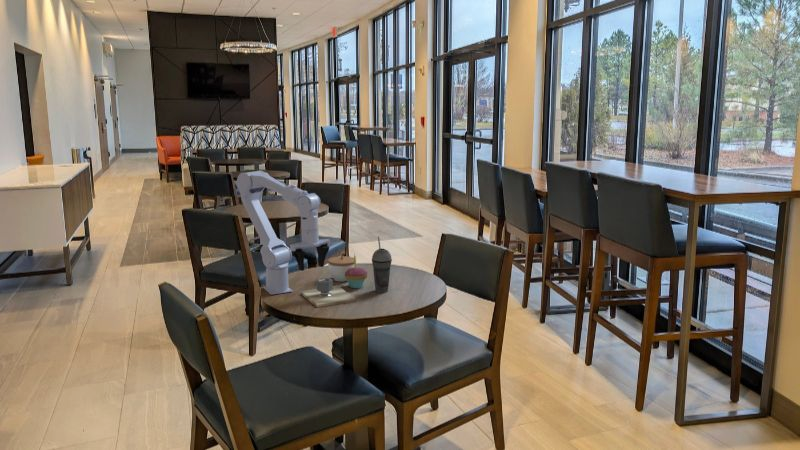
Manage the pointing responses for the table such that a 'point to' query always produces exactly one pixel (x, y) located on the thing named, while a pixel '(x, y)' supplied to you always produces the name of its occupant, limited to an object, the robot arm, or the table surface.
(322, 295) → the stud
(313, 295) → the board
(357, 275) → the cupcake
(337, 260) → the lidded jar
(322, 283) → the cap
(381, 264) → the beverage cup
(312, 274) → the table surface
